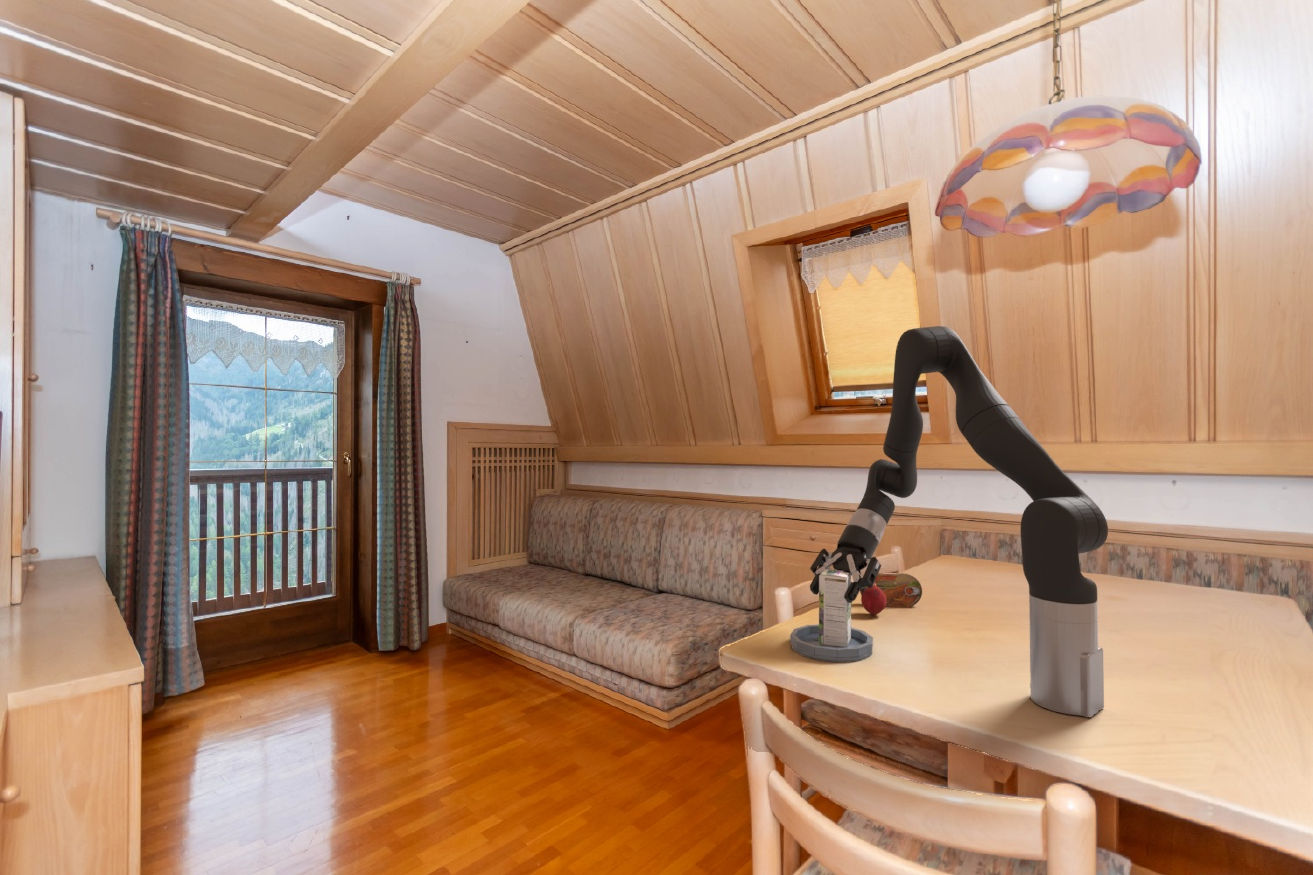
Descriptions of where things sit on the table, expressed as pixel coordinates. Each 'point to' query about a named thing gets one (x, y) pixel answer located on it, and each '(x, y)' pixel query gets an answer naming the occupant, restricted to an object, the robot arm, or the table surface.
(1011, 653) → the table surface
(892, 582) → the tin
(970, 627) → the table surface
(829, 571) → the juice carton
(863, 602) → the onion
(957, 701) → the table surface
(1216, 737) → the table surface
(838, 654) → the dish
